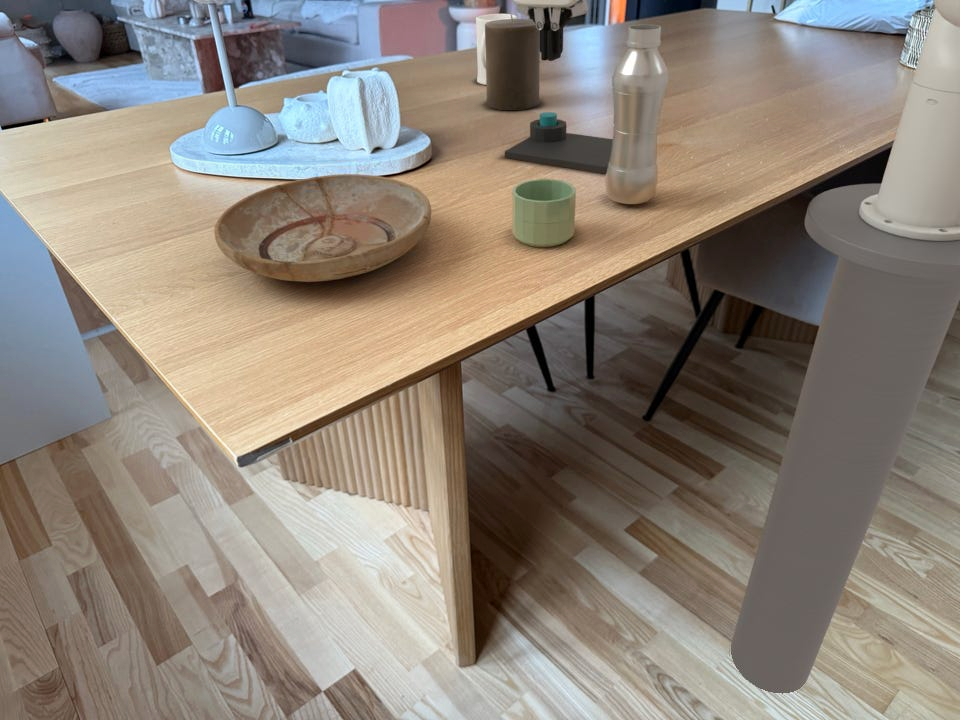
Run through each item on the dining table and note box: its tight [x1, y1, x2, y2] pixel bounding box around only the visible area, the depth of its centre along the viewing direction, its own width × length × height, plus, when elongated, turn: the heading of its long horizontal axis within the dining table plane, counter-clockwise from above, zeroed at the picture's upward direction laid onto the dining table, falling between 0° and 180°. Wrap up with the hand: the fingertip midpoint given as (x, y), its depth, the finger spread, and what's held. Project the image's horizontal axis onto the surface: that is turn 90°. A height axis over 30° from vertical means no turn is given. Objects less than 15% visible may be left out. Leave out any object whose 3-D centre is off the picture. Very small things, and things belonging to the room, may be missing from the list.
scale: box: [504, 118, 613, 175], centre depth 103 cm, size 16×12×3 cm
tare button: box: [539, 111, 558, 127], centre depth 107 cm, size 3×3×2 cm
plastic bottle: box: [604, 23, 669, 205], centre depth 83 cm, size 6×7×20 cm
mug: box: [475, 13, 518, 86], centre depth 140 cm, size 12×8×12 cm
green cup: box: [511, 178, 577, 248], centre depth 79 cm, size 7×7×6 cm
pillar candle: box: [485, 14, 541, 111], centre depth 124 cm, size 10×10×15 cm
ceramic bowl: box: [213, 173, 432, 283], centre depth 77 cm, size 23×24×5 cm
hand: (551, 58), depth 102 cm, fingers closed
